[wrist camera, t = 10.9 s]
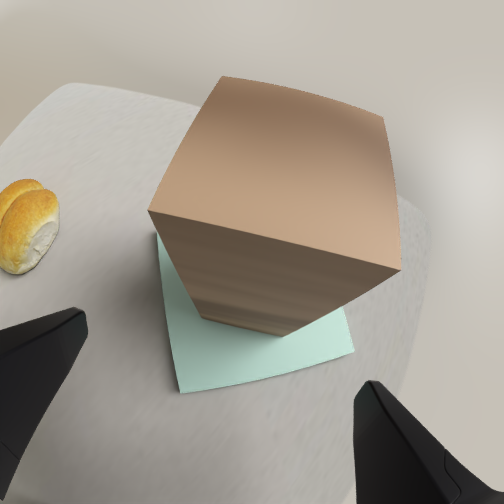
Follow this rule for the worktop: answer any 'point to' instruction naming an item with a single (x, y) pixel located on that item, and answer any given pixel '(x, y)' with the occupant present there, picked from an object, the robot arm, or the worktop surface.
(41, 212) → the bread roll
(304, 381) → the worktop surface
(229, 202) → the walnut block
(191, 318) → the green board
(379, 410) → the robot arm
